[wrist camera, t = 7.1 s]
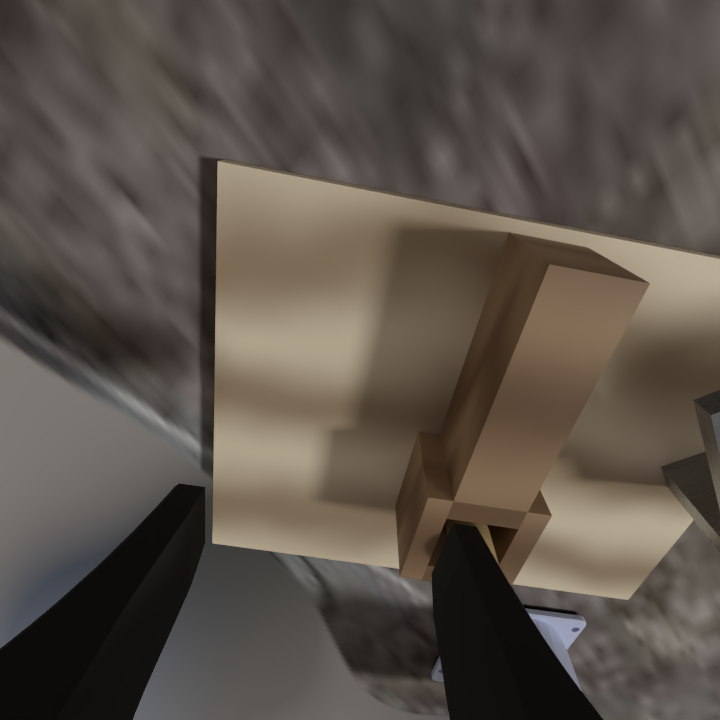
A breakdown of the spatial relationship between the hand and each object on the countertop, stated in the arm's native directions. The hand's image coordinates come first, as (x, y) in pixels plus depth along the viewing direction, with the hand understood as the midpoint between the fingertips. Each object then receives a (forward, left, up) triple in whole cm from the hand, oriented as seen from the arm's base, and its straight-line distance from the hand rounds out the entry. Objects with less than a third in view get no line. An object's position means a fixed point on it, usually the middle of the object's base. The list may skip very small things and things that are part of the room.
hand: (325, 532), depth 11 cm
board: (-3, -7, -9) cm, 12 cm away
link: (-1, -6, -9) cm, 11 cm away
